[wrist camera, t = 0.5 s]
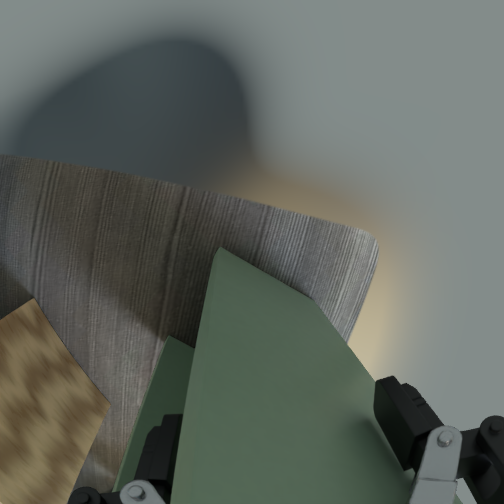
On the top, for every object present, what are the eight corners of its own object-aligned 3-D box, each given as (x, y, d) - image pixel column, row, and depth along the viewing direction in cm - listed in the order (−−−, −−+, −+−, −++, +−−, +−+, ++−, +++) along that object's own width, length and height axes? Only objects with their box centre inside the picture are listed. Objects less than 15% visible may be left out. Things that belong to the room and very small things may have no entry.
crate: (-15, 337, 29) (-106, 413, 8) (34, 297, 28) (-93, 389, 7) (50, 425, 32) (-7, 525, 11) (111, 404, 32) (52, 541, 11)
